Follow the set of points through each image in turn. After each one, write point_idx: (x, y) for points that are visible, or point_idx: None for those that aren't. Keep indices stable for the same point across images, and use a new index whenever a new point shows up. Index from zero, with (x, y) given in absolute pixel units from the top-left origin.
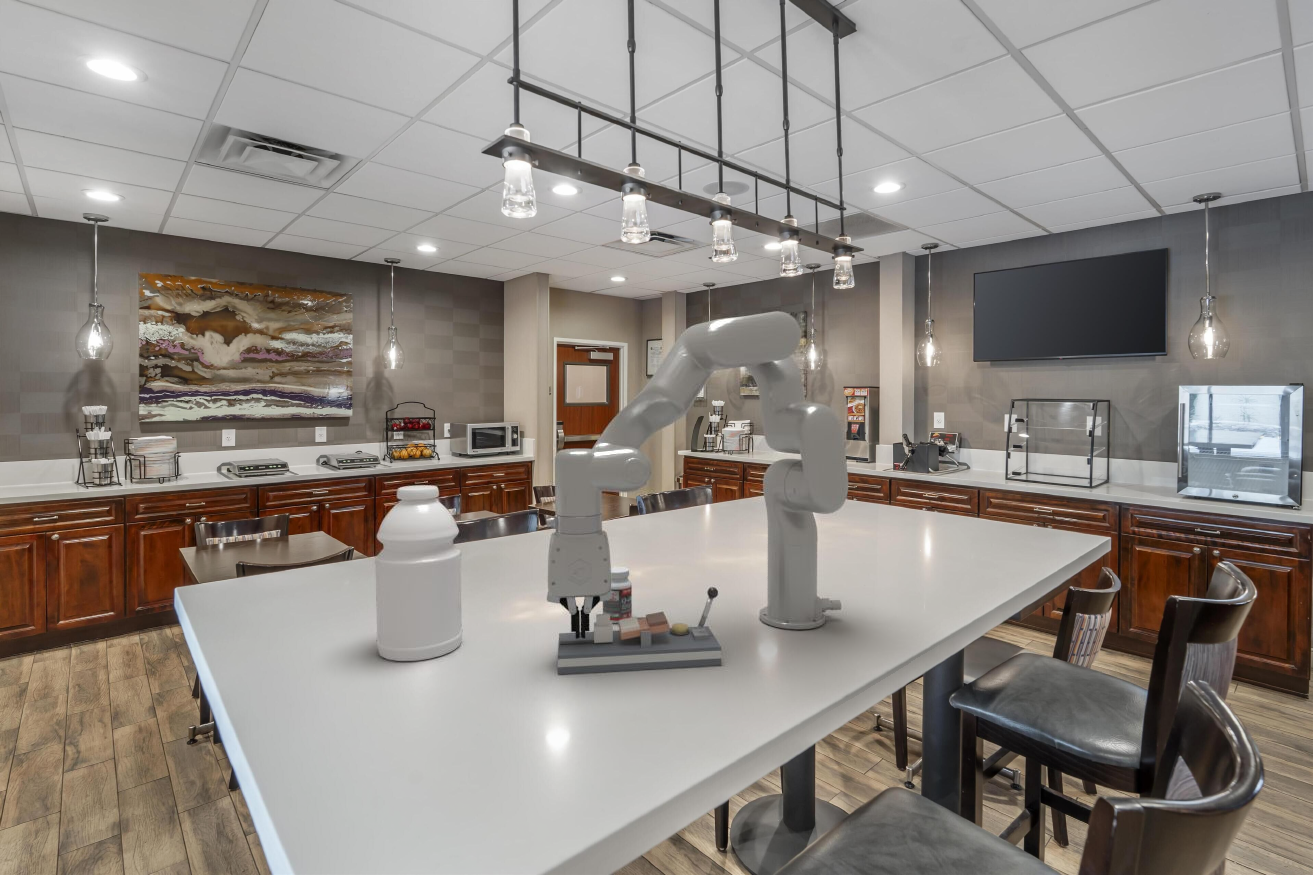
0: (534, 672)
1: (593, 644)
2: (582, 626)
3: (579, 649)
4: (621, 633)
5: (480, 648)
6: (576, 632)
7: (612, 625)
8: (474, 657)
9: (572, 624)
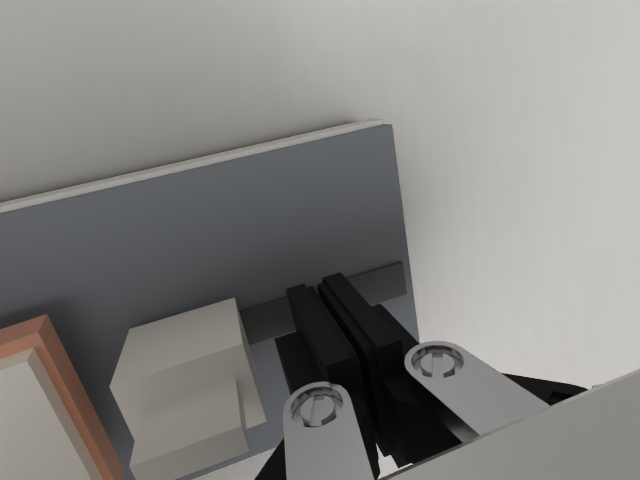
0: (446, 140)
1: (239, 295)
2: (319, 313)
3: (298, 220)
4: (30, 335)
5: (624, 313)
6: (345, 285)
7: (116, 401)
8: (636, 244)
9: (388, 322)
